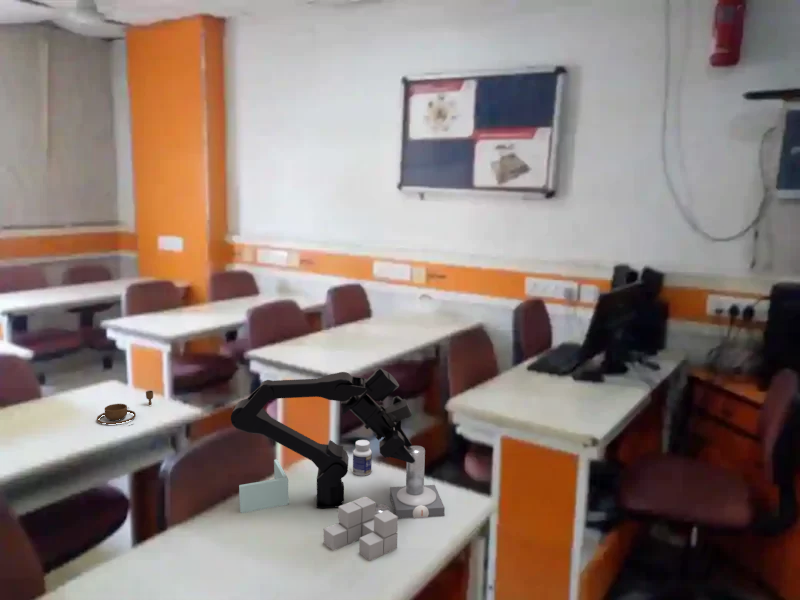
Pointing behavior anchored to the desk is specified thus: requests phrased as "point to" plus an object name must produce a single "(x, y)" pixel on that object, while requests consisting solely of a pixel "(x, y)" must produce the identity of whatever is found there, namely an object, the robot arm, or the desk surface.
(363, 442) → the pill bottle
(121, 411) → the place setting
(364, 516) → the puzzle cube
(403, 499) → the scale
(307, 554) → the desk surface
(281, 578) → the desk surface
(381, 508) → the short steel spacer
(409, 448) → the cylinder
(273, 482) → the l-shaped corner panel
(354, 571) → the desk surface
